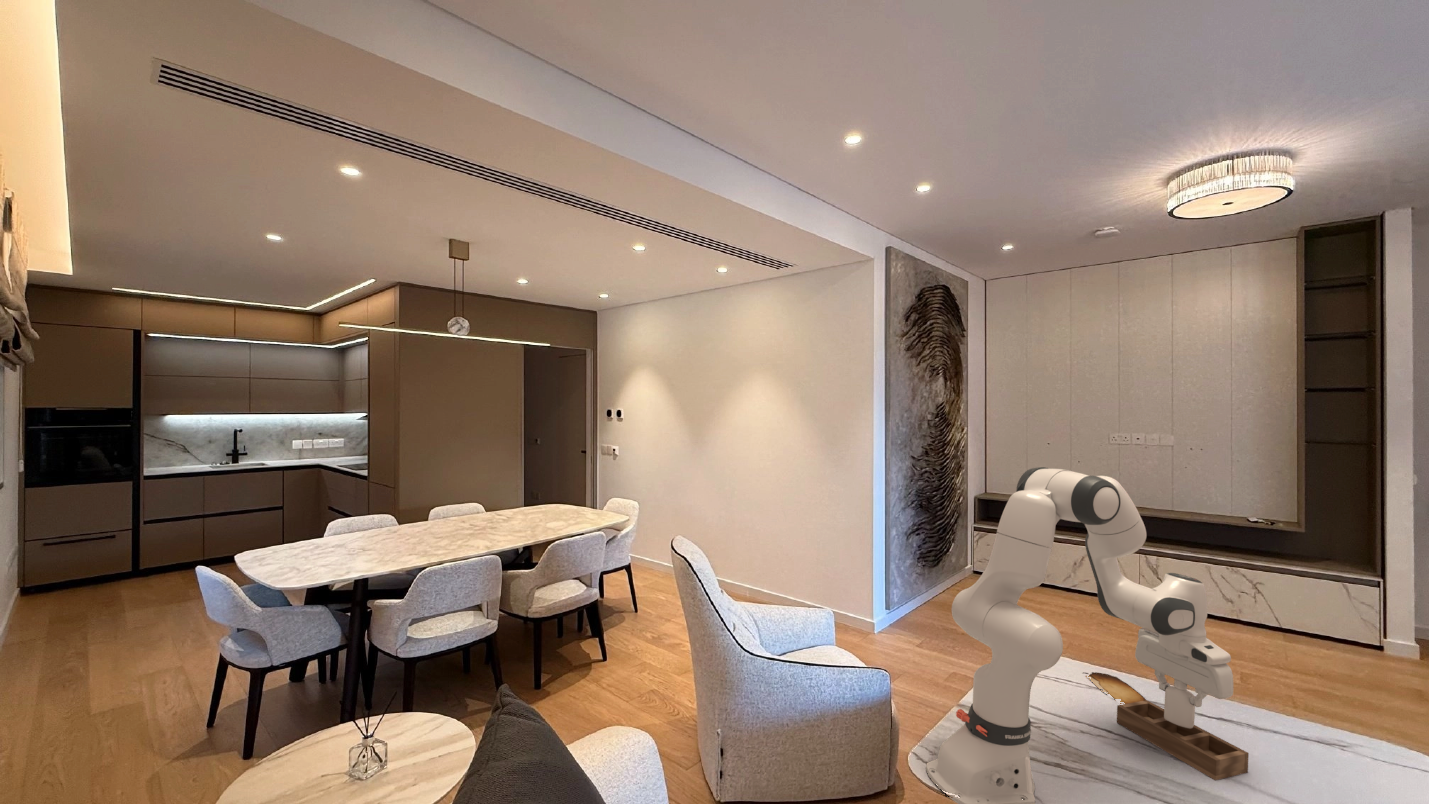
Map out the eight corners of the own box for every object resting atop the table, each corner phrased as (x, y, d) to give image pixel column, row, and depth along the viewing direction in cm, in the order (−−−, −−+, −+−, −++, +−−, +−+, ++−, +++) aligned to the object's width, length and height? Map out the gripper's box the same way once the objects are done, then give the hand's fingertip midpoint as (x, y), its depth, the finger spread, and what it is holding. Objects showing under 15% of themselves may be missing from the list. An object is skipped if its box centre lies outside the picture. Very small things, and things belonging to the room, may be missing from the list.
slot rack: (1215, 780, 127) (1216, 760, 127) (1116, 722, 148) (1117, 705, 148) (1247, 772, 130) (1248, 753, 130) (1146, 717, 151) (1146, 700, 151)
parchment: (1080, 672, 176) (1080, 669, 176) (1114, 674, 175) (1115, 671, 175) (1128, 719, 151) (1128, 716, 151) (1168, 722, 150) (1168, 718, 150)
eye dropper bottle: (1175, 715, 142) (1177, 668, 142) (1197, 729, 137) (1200, 679, 136) (1160, 717, 141) (1162, 668, 141) (1182, 730, 136) (1185, 680, 136)
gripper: (1130, 625, 148) (1128, 678, 148) (1219, 661, 128) (1217, 722, 128) (1148, 623, 149) (1146, 675, 150) (1239, 658, 130) (1236, 718, 130)
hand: (1179, 697), depth 139 cm, fingers closed on eye dropper bottle, 6 cm apart
